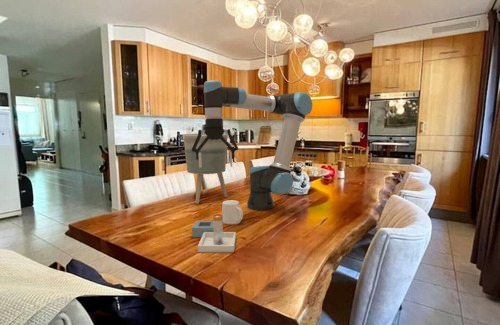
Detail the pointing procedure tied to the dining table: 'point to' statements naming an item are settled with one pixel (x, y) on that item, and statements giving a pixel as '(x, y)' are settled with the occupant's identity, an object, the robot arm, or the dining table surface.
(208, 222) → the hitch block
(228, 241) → the tray
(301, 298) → the dining table surface
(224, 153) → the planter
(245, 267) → the dining table surface
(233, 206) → the mug
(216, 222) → the spice jar
